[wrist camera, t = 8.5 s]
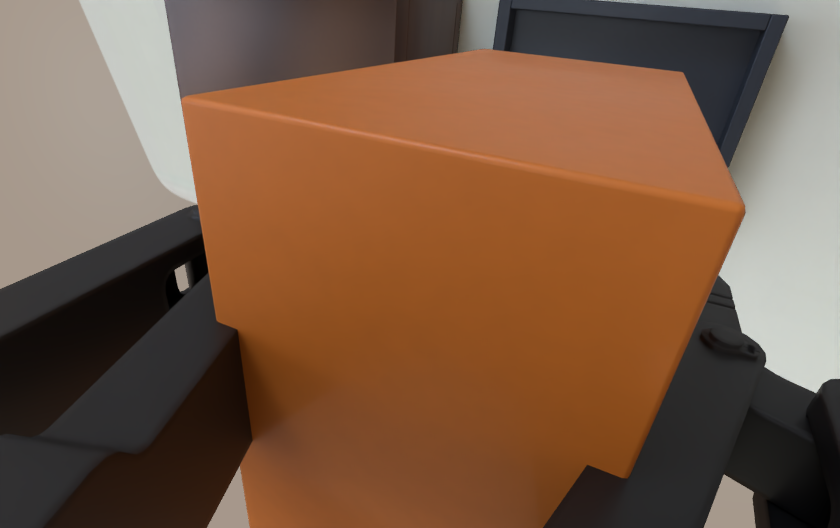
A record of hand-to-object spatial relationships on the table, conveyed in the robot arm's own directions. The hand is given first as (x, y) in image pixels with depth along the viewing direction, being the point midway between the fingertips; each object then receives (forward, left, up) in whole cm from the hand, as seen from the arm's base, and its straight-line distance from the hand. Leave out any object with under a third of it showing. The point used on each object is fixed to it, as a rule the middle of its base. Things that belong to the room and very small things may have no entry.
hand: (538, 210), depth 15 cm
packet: (0, 0, -1) cm, 1 cm away
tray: (0, 0, -20) cm, 20 cm away
